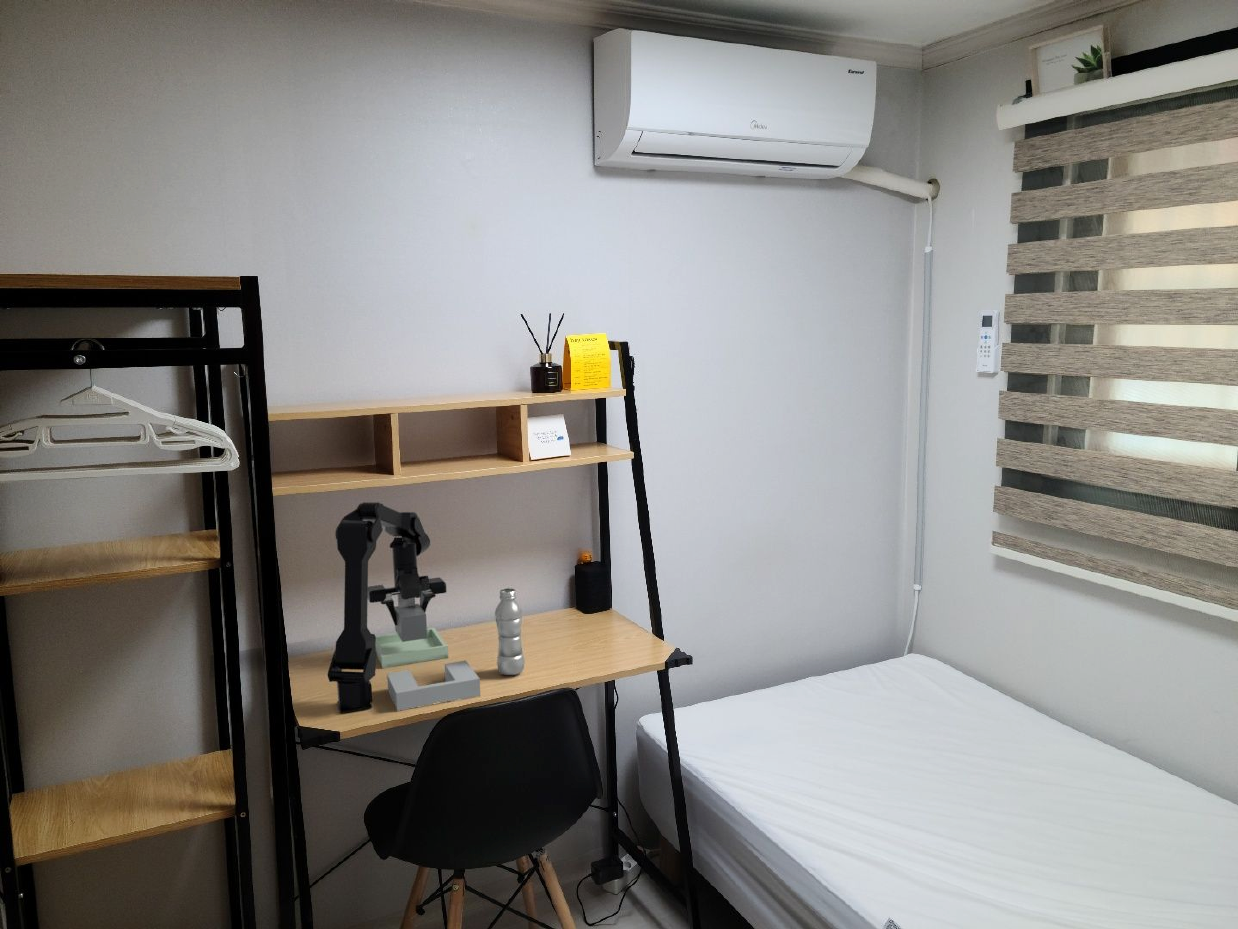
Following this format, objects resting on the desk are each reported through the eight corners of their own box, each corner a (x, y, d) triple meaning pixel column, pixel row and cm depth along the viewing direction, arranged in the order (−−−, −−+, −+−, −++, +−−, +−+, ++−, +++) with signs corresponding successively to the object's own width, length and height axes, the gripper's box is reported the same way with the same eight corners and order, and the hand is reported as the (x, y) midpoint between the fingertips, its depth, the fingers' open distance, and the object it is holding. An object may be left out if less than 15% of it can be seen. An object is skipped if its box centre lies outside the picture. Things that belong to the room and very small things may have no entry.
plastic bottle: (499, 680, 206) (495, 595, 203) (495, 669, 212) (491, 588, 210) (527, 676, 208) (524, 593, 205) (522, 666, 214) (518, 585, 211)
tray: (382, 668, 215) (381, 656, 215) (372, 648, 230) (371, 636, 229) (448, 657, 221) (447, 646, 221) (435, 638, 236) (434, 627, 235)
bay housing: (397, 711, 190) (396, 693, 190) (387, 690, 202) (386, 673, 201) (480, 696, 197) (479, 678, 197) (466, 676, 209) (465, 660, 208)
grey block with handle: (402, 642, 216) (400, 603, 214) (395, 630, 225) (393, 593, 223) (427, 638, 218) (425, 600, 217) (419, 626, 227) (417, 590, 226)
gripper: (370, 574, 210) (375, 638, 212) (449, 564, 217) (453, 626, 220) (364, 564, 220) (368, 625, 223) (439, 555, 228) (443, 614, 230)
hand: (408, 623), depth 223 cm, fingers closed on grey block with handle, 6 cm apart
